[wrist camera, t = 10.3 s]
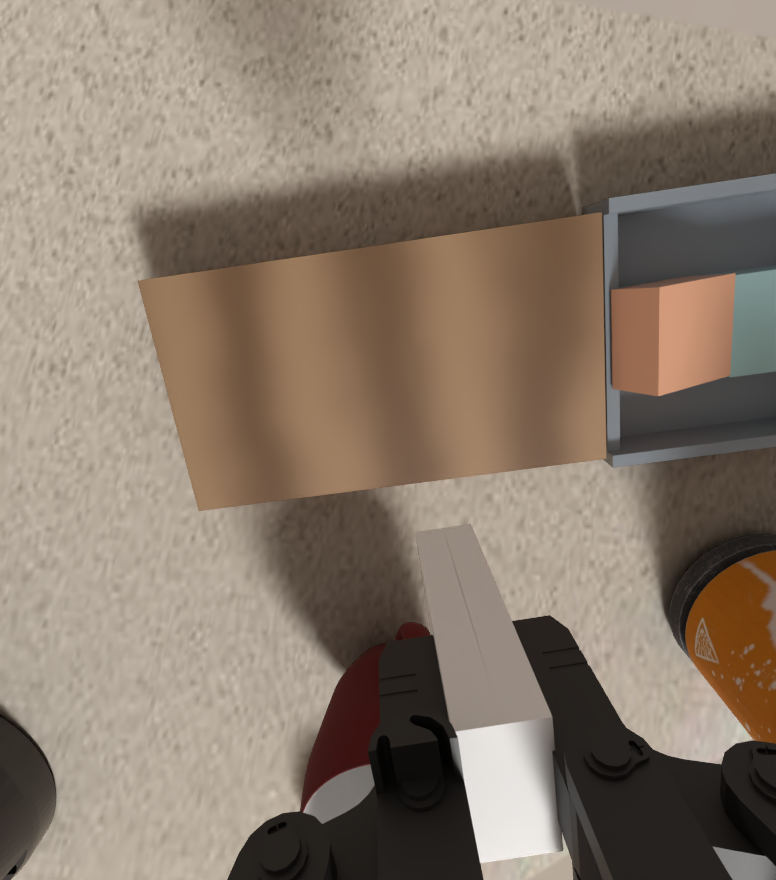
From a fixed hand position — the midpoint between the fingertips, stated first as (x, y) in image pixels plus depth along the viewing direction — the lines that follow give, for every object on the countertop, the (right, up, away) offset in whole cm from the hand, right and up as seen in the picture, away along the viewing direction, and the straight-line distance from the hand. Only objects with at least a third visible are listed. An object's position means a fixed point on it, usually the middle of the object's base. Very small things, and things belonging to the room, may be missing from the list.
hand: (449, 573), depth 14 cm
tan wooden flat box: (-2, +8, +13) cm, 15 cm away
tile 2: (+11, +9, +10) cm, 17 cm away
